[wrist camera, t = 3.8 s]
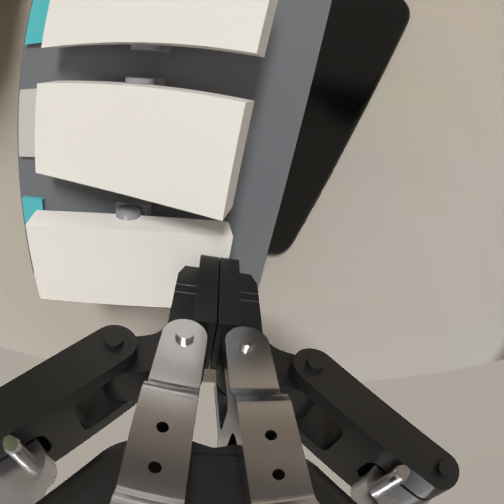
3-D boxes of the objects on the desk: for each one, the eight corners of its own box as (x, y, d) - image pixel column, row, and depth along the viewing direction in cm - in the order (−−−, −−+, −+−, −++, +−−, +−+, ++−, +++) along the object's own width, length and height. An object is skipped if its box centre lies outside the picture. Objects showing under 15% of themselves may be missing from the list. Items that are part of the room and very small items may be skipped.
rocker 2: (227, 211, 13) (234, 232, 12) (213, 287, 15) (218, 312, 14) (40, 200, 11) (25, 219, 10) (51, 277, 13) (41, 301, 12)
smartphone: (272, -66, 9) (149, 207, 16) (275, -72, 8) (146, 215, 16) (409, 9, 11) (282, 253, 19) (418, 7, 11) (285, 261, 18)
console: (318, -15, 10) (344, -35, 7) (249, 271, 19) (253, 313, 16) (73, -33, 8) (38, -50, 5) (54, 244, 17) (28, 279, 14)
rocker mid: (259, 94, 9) (247, 95, 8) (235, 206, 11) (221, 226, 10) (66, 74, 10) (37, 78, 8) (62, 165, 12) (35, 177, 10)
